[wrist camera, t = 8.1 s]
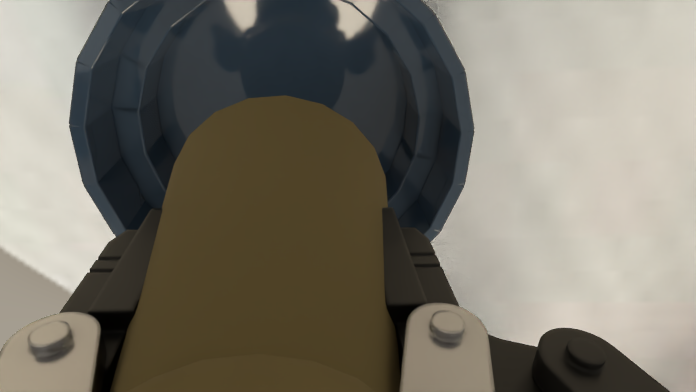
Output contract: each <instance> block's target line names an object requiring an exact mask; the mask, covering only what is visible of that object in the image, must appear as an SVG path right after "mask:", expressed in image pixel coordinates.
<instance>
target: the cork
mask: <svg viewBox="0 0 696 392" xmlns="http://www.w3.org/2000/svg"><path fill="white" fill-rule="evenodd" d="M383 207H388V202H387V189H386V176H385V174H384V171H383V169H382V166H381V163H380V161H379V158H378V156H377V153H376V150H375V148H374V147H373V145H372V144H371V143H370V142H369V141H368V140H367V138H366V137H365V136H364V135H363V134H362V133H361V131H360V130H359V129H358V128H357V127H356V126H355V124H354V123H353V122H351V121H350V120H348V119H346V118H345V117H343V116H341V115H340V114H338V113H336V112H335V111H333V110H331V109H330V108H328V107H326V106H325V105H323V104H320V103H316V102H312V101H308V100H303V99H299V98H295V97H291V96H286V95H284V96H271V97H258V98H248V99H245V100H243V101H241V102H238V103H236V104H233V105H231V106H229V107H226V108H224V109H221V110H219V111H216V112H214V113H213V114H212V115H211V116H210V117H209V118H208V119H207V120H206V121H204V122H203V123H202V124H201V125H200V126H199V127H198V128H197V129H195V130H194V131H193V132H192V133H191V134H190V135H189V136H188V138H187V140H186V142H185V144H184V146H183V148H182V150H181V152H180V154H179V156H178V157H177V159H176V161H175V163H174V166H173V169H172V173H171V177H170V180H169V184H168V187H167V191H166V194H165V198H164V201H163V205H162V208H163V210H162V214H161V218H160V222H159V226H158V230H157V234H156V238H155V242H154V246H153V250H152V253H151V257H150V261H149V265H148V269H147V273H146V277H145V281H144V285H143V289H142V293H141V296H140V299H139V302H138V306H137V309H136V312H135V315H134V317H133V318H132V320H131V322H130V324H129V325H128V329H127V332H126V336H125V340H124V343H123V347H122V350H121V354H120V357H119V361H118V364H117V368H116V371H115V375H114V378H113V382H112V386H111V389H110V392H399V387H400V366H399V352H398V341H397V334H396V328H395V326H394V323H393V321H392V319H391V317H390V315H389V312H388V310H387V306H386V300H385V288H384V255H383V222H382V208H383Z"/></svg>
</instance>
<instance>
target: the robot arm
mask: <svg viewBox="0 0 696 392" xmlns="http://www.w3.org/2000/svg"><path fill="white" fill-rule="evenodd" d="M162 210H163V208H152V209H151V210H150V211H149V213H148V215H147V216H146V218H145V219H144V221H143V223H142V224H141V226H140V227H139V229H138V230H126V231H125V232H123V233H122V234H120V235H119V236H117V237H116V238H114V239H113V240H111V241H110V242H109V243H108V244H107V246H106V247H105V248H104V250H103V251H102V253H101V254H100V256H99V257H98V258H99V259H98V260H96V261H95V263H94V264H93V266H92V267H91V268H90V273H87V274H86V276H85V277H84V278H83V280H82V281H81V283H80V284H79V286H78V287H77V289H76V290H75V291H74V293H73V294H72V296H71V297H70V299H69V300H68V301H67V303H66V304H65V306H64V307H63V309H62V310H61V311H60V313H59V314H54V315H50V316H47V317H44V318H41V319H39V320H36V321H34V322H32V323H30V324H28V325H27V326H25V327H23V328H22V329H20V330H19V331H17V332H16V333H15V334H14V335H12V337H10V338H9V340H7V342H6V343H5V344H4V346H3V347H2V349H1V351H0V392H110V389H111V386H112V382H113V378H114V375H115V371H116V368H117V364H118V361H119V357H120V354H121V350H122V347H123V343H124V340H125V336H126V332H127V329H128V325H129V324H130V322H131V320H132V318H133V317H134V315H135V312H136V309H137V306H138V302H139V299H140V296H141V293H142V289H143V285H144V281H145V277H146V273H147V269H148V265H149V261H150V257H151V253H152V250H153V246H154V242H155V238H156V234H157V230H158V226H159V222H160V218H161V214H162ZM382 222H383V255H384V288H385V300H386V306H387V310H388V312H389V315H390V317H391V319H392V321H393V323H394V326H395V328H396V334H397V341H398V352H399V366H400V387H399V392H670V391H668V390H667V389H666V388H665V387H663V386H662V385H661V384H660V383H658V382H657V381H656V380H655V379H653V378H652V377H651V376H650V375H648V374H647V373H646V372H645V371H644V370H642V369H641V368H640V367H639V366H637V365H636V364H635V363H634V362H632V361H631V360H630V359H629V358H627V357H626V356H625V355H624V354H622V353H621V352H620V351H619V350H617V349H616V348H615V347H614V346H612V345H611V344H609V343H608V342H606V341H605V340H603V339H601V338H600V337H597V336H595V335H593V334H591V333H588V332H585V331H582V330H578V329H572V328H557V329H553V330H550V331H548V332H546V333H545V334H543V336H542V337H541V338H540V341H539V344H538V347H535V346H530V345H525V344H520V343H516V342H511V341H506V340H503V339H499V338H496V337H493V336H491V335H489V334H488V333H487V330H486V328H485V326H484V324H483V323H482V322H481V320H480V319H479V318H478V317H476V316H475V315H474V314H472V313H471V312H469V311H468V310H466V309H464V308H461V307H459V305H458V302H457V300H456V298H455V296H454V294H453V291H452V289H451V287H450V285H449V283H448V280H447V278H446V276H445V274H444V272H443V269H442V267H440V263H439V260H438V258H437V256H436V255H435V252H434V249H433V247H432V245H431V243H430V241H429V239H428V238H427V237H426V236H425V235H423V234H422V233H421V232H420V231H419V230H417V229H416V228H415V227H401V228H400V225H399V222H398V219H397V217H396V214H395V211H394V209H393V208H392V207H383V208H382Z"/></svg>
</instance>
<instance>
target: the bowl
mask: <svg viewBox="0 0 696 392" xmlns="http://www.w3.org/2000/svg"><path fill="white" fill-rule="evenodd" d="M284 95H286V96H291V97H295V98H299V99H303V100H308V101H312V102H316V103H320V104H323V105H325V106H326V107H328V108H330V109H331V110H333V111H335V112H336V113H338V114H340V115H341V116H343V117H345V118H346V119H348V120H350V121H351V122H353V123H354V124H355V126H356V127H357V128H358V129H359V130H360V131H361V133H362V134H363V135H364V136H365V137H366V138H367V140H368V141H369V142H370V143H371V144H372V145H373V147H374V148H375V150H376V153H377V156H378V158H379V161H380V163H381V166H382V169H383V171H384V174H385V176H386V189H387V202H388V207H392V208H393V209H394V211H395V214H396V217H397V219H398V222H399V225H400V228H401V227H415V228H416V229H417V230H419V231H420V232H421V233H422V234H423V235H425V236H426V237H427V238H428V239H429V241H430V242H431V241H432V240H433V239H434V238H435V237H436V236H437V235H438V234H439V232H440V231H441V230H442V228H443V226H444V224H445V222H446V220H447V218H448V216H449V214H450V213H451V211H452V209H453V207H454V205H455V203H456V201H457V199H458V197H459V195H460V194H461V192H462V190H463V188H464V185H465V181H466V175H467V170H468V164H469V158H470V153H471V147H472V141H473V136H474V124H473V117H472V110H471V104H470V97H469V91H468V84H467V78H466V72H465V69H464V67H463V65H462V63H461V61H460V59H459V58H458V56H457V54H456V52H455V50H454V48H453V46H452V44H451V42H450V40H449V39H448V37H447V35H446V33H445V31H444V29H443V27H442V25H441V23H440V22H439V20H438V18H437V16H436V14H434V12H433V11H432V10H431V9H430V8H429V7H428V6H427V5H426V4H425V3H424V2H423V1H422V0H109V1H108V2H107V4H106V6H105V8H104V9H103V11H102V13H101V15H100V17H99V19H98V21H97V22H96V24H95V26H94V28H93V30H92V32H91V34H90V36H89V37H88V39H87V41H86V43H85V45H84V47H83V49H82V50H81V52H80V54H79V56H78V58H77V61H76V66H75V75H74V84H73V92H72V101H71V110H70V118H69V124H70V125H69V128H70V132H71V136H72V140H73V144H74V149H75V153H76V157H77V161H78V165H79V169H80V173H81V178H82V182H83V184H84V187H85V188H86V190H87V192H88V193H89V195H90V196H91V198H92V200H93V201H94V203H95V205H96V206H97V208H98V209H99V211H100V213H101V214H102V216H103V217H104V219H105V221H106V222H107V224H108V226H109V227H110V229H111V230H112V232H113V234H115V236H116V237H117V236H119V235H120V234H122V233H123V232H125V231H126V230H138V229H139V227H140V226H141V224H142V223H143V221H144V219H145V218H146V216H147V215H148V213H149V211H150V210H151V209H152V208H162V205H163V201H164V198H165V194H166V191H167V187H168V184H169V180H170V177H171V173H172V169H173V166H174V163H175V161H176V159H177V157H178V156H179V154H180V152H181V150H182V148H183V146H184V144H185V142H186V140H187V138H188V136H189V135H190V134H191V133H192V132H193V131H194V130H195V129H197V128H198V127H199V126H200V125H201V124H202V123H203V122H204V121H206V120H207V119H208V118H209V117H210V116H211V115H212V114H213V113H214V112H216V111H219V110H221V109H224V108H226V107H229V106H231V105H233V104H236V103H238V102H241V101H243V100H245V99H248V98H258V97H271V96H284Z"/></svg>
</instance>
